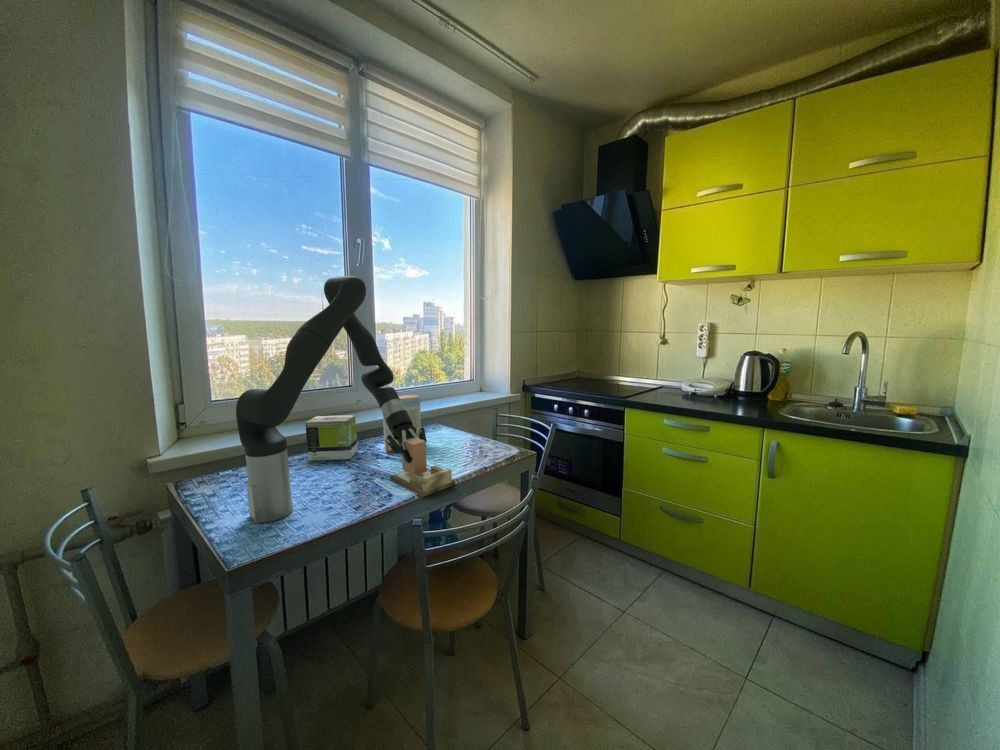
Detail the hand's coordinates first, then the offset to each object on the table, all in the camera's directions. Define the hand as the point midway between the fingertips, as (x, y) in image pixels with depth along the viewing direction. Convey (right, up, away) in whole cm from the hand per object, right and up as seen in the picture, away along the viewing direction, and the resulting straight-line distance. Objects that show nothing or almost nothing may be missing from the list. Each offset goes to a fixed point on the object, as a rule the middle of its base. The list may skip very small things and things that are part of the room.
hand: (417, 459), depth 121 cm
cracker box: (-12, -3, +32) cm, 34 cm away
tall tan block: (-1, -4, +2) cm, 5 cm away
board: (+2, -7, -1) cm, 7 cm away
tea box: (-37, -4, +23) cm, 44 cm away
